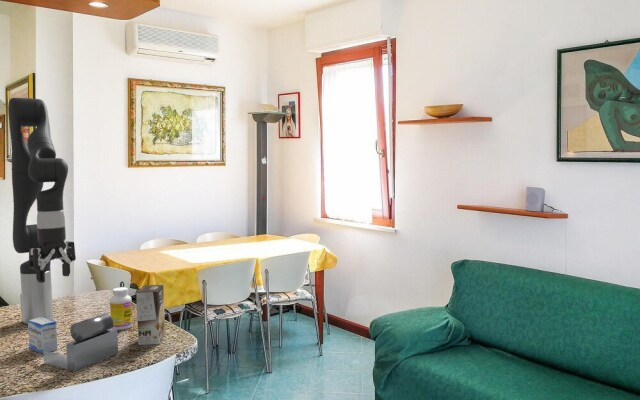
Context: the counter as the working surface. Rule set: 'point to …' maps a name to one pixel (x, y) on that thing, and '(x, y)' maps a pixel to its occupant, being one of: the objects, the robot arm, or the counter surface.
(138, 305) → the coffee box
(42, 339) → the medicine box
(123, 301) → the supplement bottle
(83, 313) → the counter surface
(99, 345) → the motor dock
